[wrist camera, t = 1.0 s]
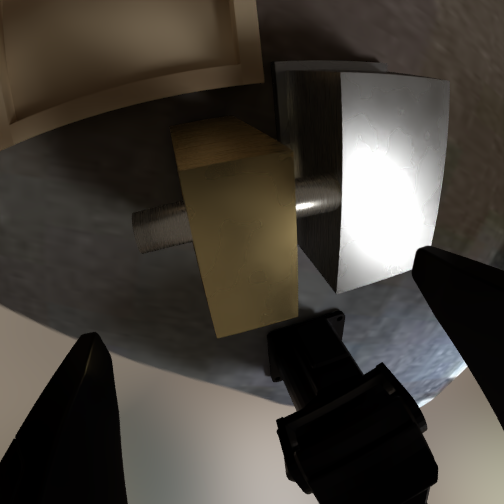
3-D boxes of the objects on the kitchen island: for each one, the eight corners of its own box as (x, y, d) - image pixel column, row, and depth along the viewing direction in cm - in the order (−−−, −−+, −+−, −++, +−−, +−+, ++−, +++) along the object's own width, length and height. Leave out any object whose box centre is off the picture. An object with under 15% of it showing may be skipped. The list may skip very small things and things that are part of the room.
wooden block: (244, 223, 18) (298, 316, 11) (191, 235, 17) (217, 338, 11) (231, 114, 14) (293, 150, 8) (169, 126, 14) (178, 171, 8)
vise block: (375, 222, 21) (430, 269, 16) (165, 272, 19) (173, 345, 14) (380, 63, 15) (456, 72, 10) (121, 86, 13) (98, 90, 8)
